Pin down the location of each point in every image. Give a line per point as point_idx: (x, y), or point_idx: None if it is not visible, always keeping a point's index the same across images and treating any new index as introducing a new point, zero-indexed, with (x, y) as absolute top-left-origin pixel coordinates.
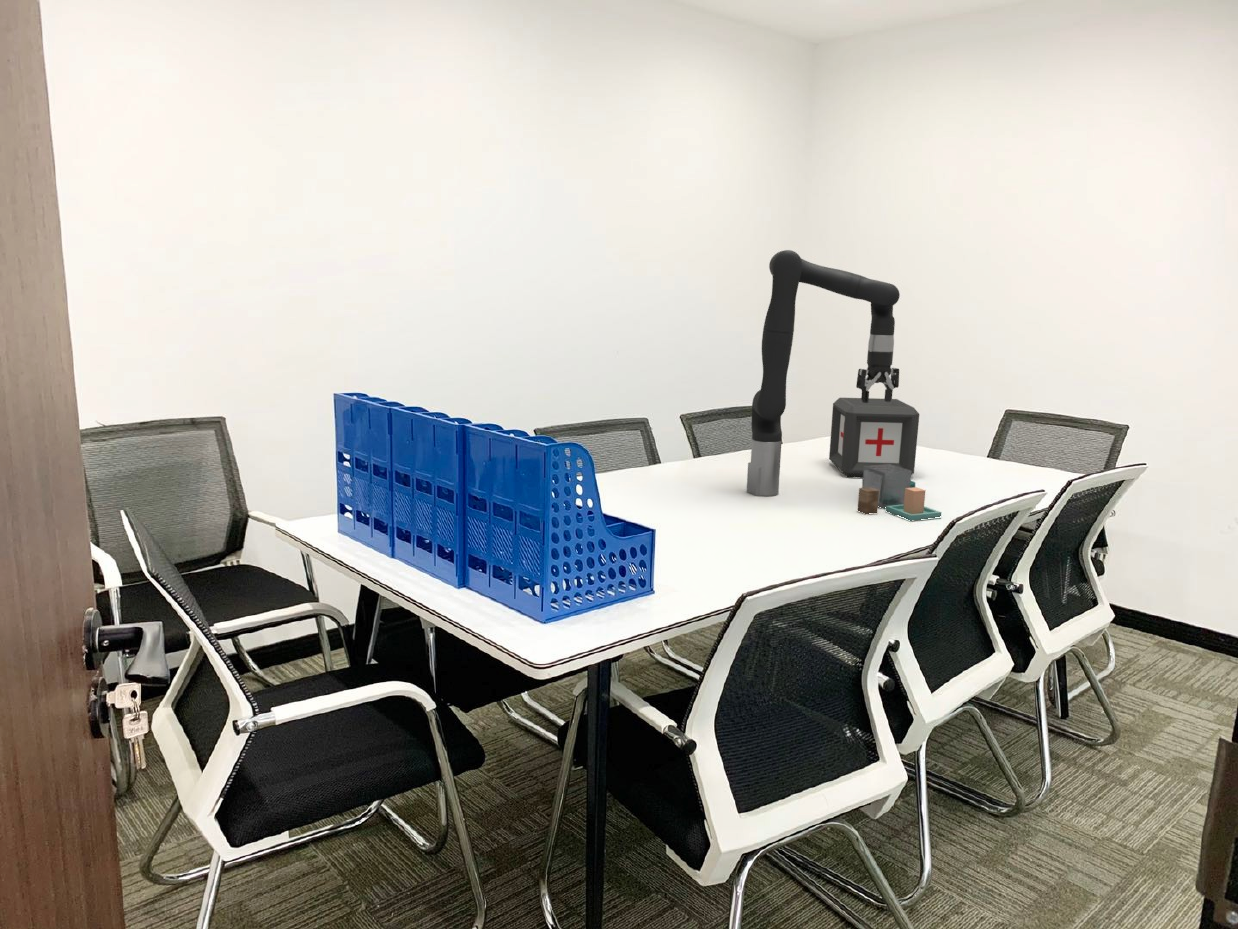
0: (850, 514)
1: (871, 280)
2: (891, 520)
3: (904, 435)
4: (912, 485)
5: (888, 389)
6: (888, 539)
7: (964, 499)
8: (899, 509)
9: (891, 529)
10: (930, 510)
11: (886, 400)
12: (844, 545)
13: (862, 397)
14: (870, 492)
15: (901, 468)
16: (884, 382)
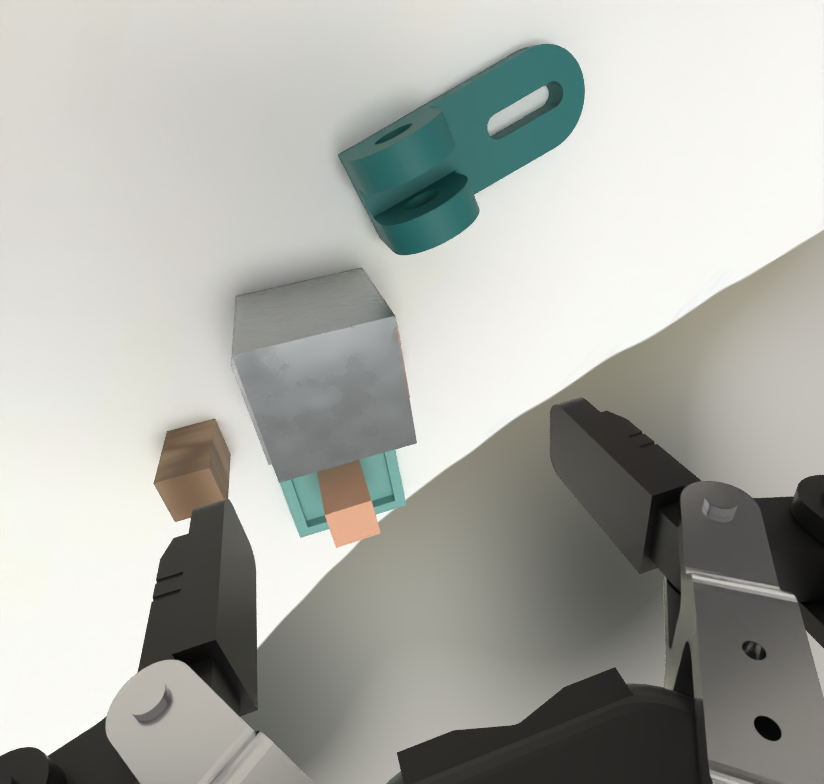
0: (126, 466)
1: None
2: (246, 517)
3: None
4: (543, 152)
5: (654, 547)
6: None
7: (610, 304)
8: None
9: None
10: (391, 481)
11: (557, 436)
12: (25, 703)
13: (171, 588)
14: (188, 515)
15: (398, 404)
16: (678, 657)
